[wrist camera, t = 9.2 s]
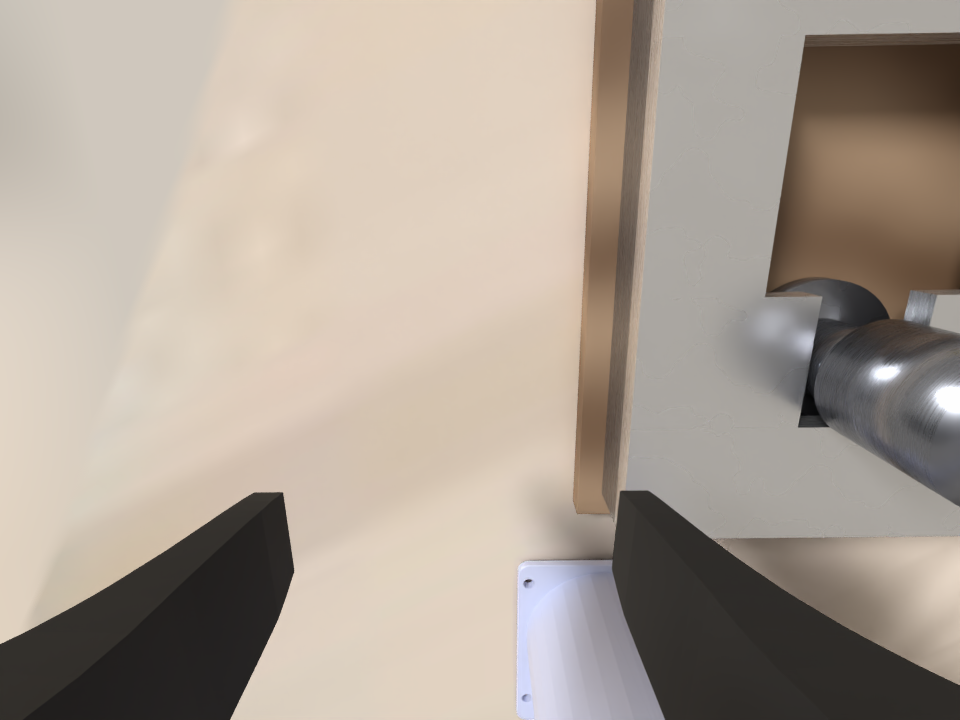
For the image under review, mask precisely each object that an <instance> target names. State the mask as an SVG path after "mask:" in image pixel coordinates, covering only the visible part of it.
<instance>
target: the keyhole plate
mask: <svg viewBox="0 0 960 720" xmlns="http://www.w3.org/2000/svg"><path fill="white" fill-rule="evenodd" d="M934 44H960V0H634V6H633V21H632V36H631V52H630V67H629V82H628V98H627V113H626V128H625V144H624V159H623V174H622V189H621V205H620V220H619V235H618V251H617V266H616V281H615V296H614V312H613V327H612V342H611V358H610V373H609V388H608V403H607V419H606V434H605V449H604V465H603V480H602V495H603V498H604V500H605V502H606V505H607V507H608V509H609V512H610V514H611V516H612V519H613V521H614V523H615V526H616V524H617V514H618V505H619V495H620V491H638V490H648V491H650V492H651V493H653V494H654V495H656V496H657V497H658V498H660V499H661V500H662V501H663V502H665V503H666V504H667V505H669V506H670V507H671V508H672V509H674V510H675V511H676V512H678V513H679V514H680V515H681V516H683V517H684V518H685V519H686V520H688V521H689V522H690V523H691V524H693V525H694V526H695V527H697V528H698V529H699V530H700V531H702V532H703V533H704V534H706V535H707V536H708V537H710V538H711V539H722V538H820V537H917V536H960V507H959V506H957V505H955V504H954V503H952V502H950V501H949V500H947V499H945V498H944V497H942V496H941V495H939V494H937V493H936V492H934V491H932V490H931V489H929V488H927V487H926V486H924V485H923V484H921V483H919V482H918V481H916V480H914V479H913V478H911V477H910V476H908V475H906V474H905V473H903V472H901V471H900V470H898V469H896V468H895V467H893V466H892V465H890V464H888V463H887V462H885V461H883V460H882V459H880V458H879V457H877V456H875V455H874V454H872V453H870V452H869V451H867V450H865V449H864V448H862V447H861V446H859V445H857V444H856V443H854V442H852V441H851V440H849V439H847V438H846V437H844V436H843V435H841V434H839V433H838V432H836V431H835V430H833V429H832V428H830V427H829V426H828V425H827V424H826V423H825V422H824V420H823V419H822V418H821V416H800V413H801V408H802V403H803V397H804V392H805V387H806V381H807V376H808V371H809V365H810V360H811V355H812V349H813V344H814V339H815V333H816V328H817V323H818V317H819V312H820V307H821V301H822V296H818V295H814V294H810V293H806V292H766V288H767V281H768V275H769V268H770V262H771V255H772V249H773V242H774V236H775V229H776V223H777V216H778V210H779V203H780V197H781V190H782V184H783V178H784V171H785V165H786V158H787V152H788V145H789V139H790V132H791V126H792V119H793V113H794V106H795V100H796V93H797V87H798V80H799V74H800V67H801V61H802V54H803V48H804V47H809V46H872V45H934ZM904 320H908V321H912V322H916V323H920V324H924V325H928V326H932V327H936V328H940V329H944V330H948V331H952V332H956V333H960V290H911V291H910V295H909V299H908V303H907V307H906V312H905V316H904Z"/></svg>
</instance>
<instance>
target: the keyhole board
mask: <svg viewBox="0 0 960 720" xmlns="http://www.w3.org/2000/svg"><path fill="white" fill-rule="evenodd" d="M633 6H634V0H596V21H595V42H594V64H593V85H592V106H591V128H590V149H589V171H588V192H587V214H586V235H585V256H584V278H583V299H582V321H581V342H580V363H579V385H578V406H577V428H576V449H575V471H574V492H573V502H574V505H575V508H576V512H577V514H610V512H609V509H608V507H607V505H606V502H605V500H604V498H603V495H602V480H603V465H604V449H605V434H606V419H607V403H608V388H609V373H610V358H611V342H612V327H613V312H614V296H615V281H616V266H617V251H618V235H619V220H620V205H621V189H622V174H623V159H624V144H625V128H626V113H627V98H628V82H629V67H630V52H631V36H632V21H633ZM809 277H825V278H831V279H837V280H842V281H847V282H851V283H854V284H857V285H860V286H862V287H863V288H865V289H867V290H869V291H870V292H871V293H873V294H874V295H875V296H876V297H877V298H878V299H879V300H880V301H881V302H882V304H883V306H884V307H885V309H886V310H887V313H888V315H889V317H890V319H903V320H904V316H905V312H906V307H907V303H908V299H909V295H910V291H911V290H960V44H934V45H872V46H809V47H804V48H803V54H802V61H801V67H800V74H799V80H798V87H797V93H796V100H795V106H794V113H793V119H792V126H791V132H790V139H789V145H788V152H787V158H786V165H785V171H784V178H783V184H782V190H781V197H780V203H779V210H778V216H777V223H776V229H775V236H774V242H773V249H772V255H771V262H770V268H769V275H768V281H767V288H766V292H770V291H772V290H774V289H775V288H777V287H779V286H781V285H783V284H785V283H788V282H791V281H794V280H797V279H802V278H809Z"/></svg>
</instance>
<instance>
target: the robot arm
mask: <svg viewBox="0 0 960 720" xmlns="http://www.w3.org/2000/svg"><path fill="white" fill-rule="evenodd" d="M293 574H294V565H293V559H292V552H291V545H290V538H289V531H288V524H287V517H286V510H285V503H284V496H283V492H275V493H253V494H251V495H249V496H248V497H246V498H244V499H243V500H241V501H239V502H238V503H236V504H235V505H233V506H232V507H230V508H229V509H227V510H226V511H224V512H223V513H221V514H220V515H218V516H217V517H215V518H214V519H213V520H211V521H210V522H208V523H207V524H205V525H204V526H202V527H201V528H199V529H198V530H196V531H195V532H193V533H192V534H190V535H189V536H187V537H186V538H184V539H183V540H181V541H180V542H178V543H177V544H175V545H174V546H172V547H171V548H169V549H168V550H166V551H165V552H163V553H162V554H160V555H158V556H157V557H155V558H154V559H152V560H150V561H149V562H147V563H146V564H144V565H142V566H141V567H139V568H138V569H136V570H134V571H133V572H131V573H130V574H128V575H126V576H125V577H123V578H122V579H120V580H118V581H117V582H115V583H114V584H112V585H110V586H109V587H107V588H105V589H104V590H102V591H100V592H98V593H97V594H95V595H93V596H92V597H90V598H88V599H86V600H84V601H83V602H81V603H79V604H77V605H76V606H74V607H72V608H70V609H68V610H66V611H64V612H63V613H61V614H59V615H57V616H55V617H53V618H51V619H50V620H48V621H46V622H44V623H42V624H40V625H38V626H36V627H34V628H32V629H31V630H29V631H27V632H25V633H23V634H21V635H19V636H16V637H14V638H12V639H10V640H8V641H6V642H4V643H2V644H0V720H230V719H231V717H232V715H233V712H234V710H235V708H236V706H237V704H238V702H239V700H240V698H241V696H242V694H243V692H244V690H245V688H246V686H247V684H248V681H249V679H250V677H251V675H252V673H253V671H254V669H255V667H256V665H257V663H258V661H259V659H260V657H261V654H262V652H263V650H264V648H265V646H266V644H267V642H268V640H269V638H270V636H271V633H272V631H273V629H274V627H275V625H276V623H277V620H278V618H279V616H280V613H281V610H282V607H283V604H284V601H285V598H286V595H287V592H288V589H289V586H290V583H291V580H292V577H293ZM527 579H531V580H532V581H531V582H525V580H527ZM525 694H527V695H525ZM516 709H517V715H518V716H519V717H520V718H522V719H526V720H960V685H958V684H955V683H953V682H951V681H949V680H947V679H945V678H943V677H941V676H939V675H937V674H935V673H933V672H930V671H928V670H926V669H924V668H922V667H920V666H918V665H916V664H914V663H912V662H910V661H908V660H906V659H904V658H902V657H901V656H899V655H897V654H895V653H893V652H891V651H889V650H887V649H885V648H883V647H881V646H879V645H877V644H876V643H874V642H872V641H870V640H868V639H866V638H864V637H862V636H860V635H859V634H857V633H855V632H853V631H851V630H850V629H848V628H846V627H844V626H842V625H841V624H839V623H837V622H836V621H834V620H832V619H831V618H829V617H827V616H825V615H824V614H822V613H820V612H819V611H817V610H815V609H814V608H812V607H810V606H809V605H807V604H805V603H804V602H802V601H800V600H799V599H797V598H796V597H794V596H792V595H791V594H789V593H788V592H786V591H785V590H783V589H781V588H780V587H778V586H777V585H775V584H774V583H772V582H771V581H770V580H768V579H767V578H765V577H764V576H762V575H761V574H759V573H758V572H756V571H755V570H753V569H752V568H751V567H749V566H748V565H746V564H745V563H743V562H742V561H741V560H739V559H738V558H736V557H735V556H734V555H732V554H731V553H730V552H728V551H727V550H725V549H724V548H723V547H721V546H720V545H719V544H717V543H716V542H715V541H714V540H712V539H711V538H710V537H708V536H707V535H706V534H704V533H703V532H702V531H700V530H699V529H698V528H697V527H695V526H694V525H693V524H691V523H690V522H689V521H688V520H686V519H685V518H684V517H683V516H681V515H680V514H679V513H678V512H676V511H675V510H674V509H672V508H671V507H670V506H669V505H667V504H666V503H665V502H663V501H662V500H661V499H660V498H658V497H657V496H656V495H654V494H653V493H651V492H650V491H648V490H638V491H620V495H619V505H618V514H617V524H616V533H615V542H614V552H613V560H549V561H524V562H523V563H521V564H520V565H519V567H518V592H517V690H516Z"/></svg>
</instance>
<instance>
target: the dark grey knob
mask: <svg viewBox="0 0 960 720" xmlns="http://www.w3.org/2000/svg"><path fill="white" fill-rule="evenodd" d="M770 292H806V293H810V294H814V295H818V296H822V301H821V307H820V312H819V317H818V323H817V328H816V333H815V339H814V344H813V349H812V355H811V360H810V365H809V371H808V376H807V381H806V387H805V392H804V397H803V403H802V408H801V413H800V416H821V418H822V419H823V420H824V422H825V423H826V424H827V425H828V426H829V427H830V428H832V429H833V430H835V431H836V432H838V433H839V434H841V435H843V436H844V437H846V438H847V439H849V440H851V441H852V442H854V443H856V444H857V445H859V446H861V447H862V448H864V449H865V450H867V451H869V452H870V453H872V454H874V455H875V456H877V457H879V458H880V459H882V460H883V461H885V462H887V463H888V464H890V465H892V466H893V467H895V468H896V469H898V470H900V471H901V472H903V473H905V474H906V475H908V476H910V477H911V478H913V479H914V480H916V481H918V482H919V483H921V484H923V485H924V486H926V487H927V488H929V489H931V490H932V491H934V492H936V493H937V494H939V495H941V496H942V497H944V498H945V499H947V500H949V501H950V502H952V503H954V504H955V505H957V506H959V507H960V333H956V332H952V331H948V330H944V329H940V328H936V327H932V326H928V325H924V324H920V323H916V322H912V321H908V320H903V319H890V317H889V315H888V313H887V310H886V309H885V307H884V306H883V304H882V302H881V301H880V300H879V299H878V298H877V297H876V296H875V295H874V294H873V293H871V292H870V291H869V290H867V289H865V288H863V287H862V286H860V285H857V284H854V283H851V282H847V281H842V280H837V279H831V278H825V277H809V278H802V279H797V280H794V281H791V282H788V283H785V284H783V285H781V286H779V287H777V288H775V289H774V290H772V291H770Z"/></svg>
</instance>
